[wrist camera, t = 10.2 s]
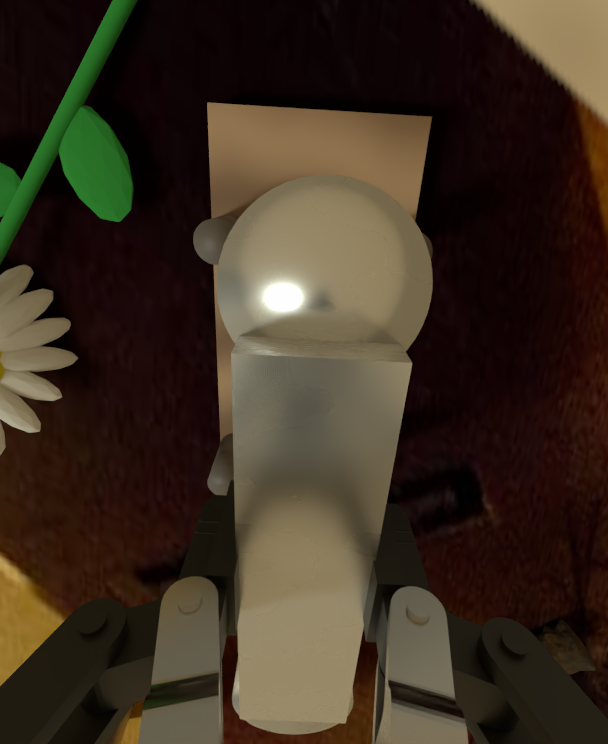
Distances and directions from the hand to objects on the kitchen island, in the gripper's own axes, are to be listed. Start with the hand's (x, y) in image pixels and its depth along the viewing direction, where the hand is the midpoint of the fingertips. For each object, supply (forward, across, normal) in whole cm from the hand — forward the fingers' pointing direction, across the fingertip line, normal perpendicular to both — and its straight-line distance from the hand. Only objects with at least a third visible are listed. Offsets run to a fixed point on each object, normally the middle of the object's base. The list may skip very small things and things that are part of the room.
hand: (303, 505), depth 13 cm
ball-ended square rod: (+1, 0, 0) cm, 1 cm away
